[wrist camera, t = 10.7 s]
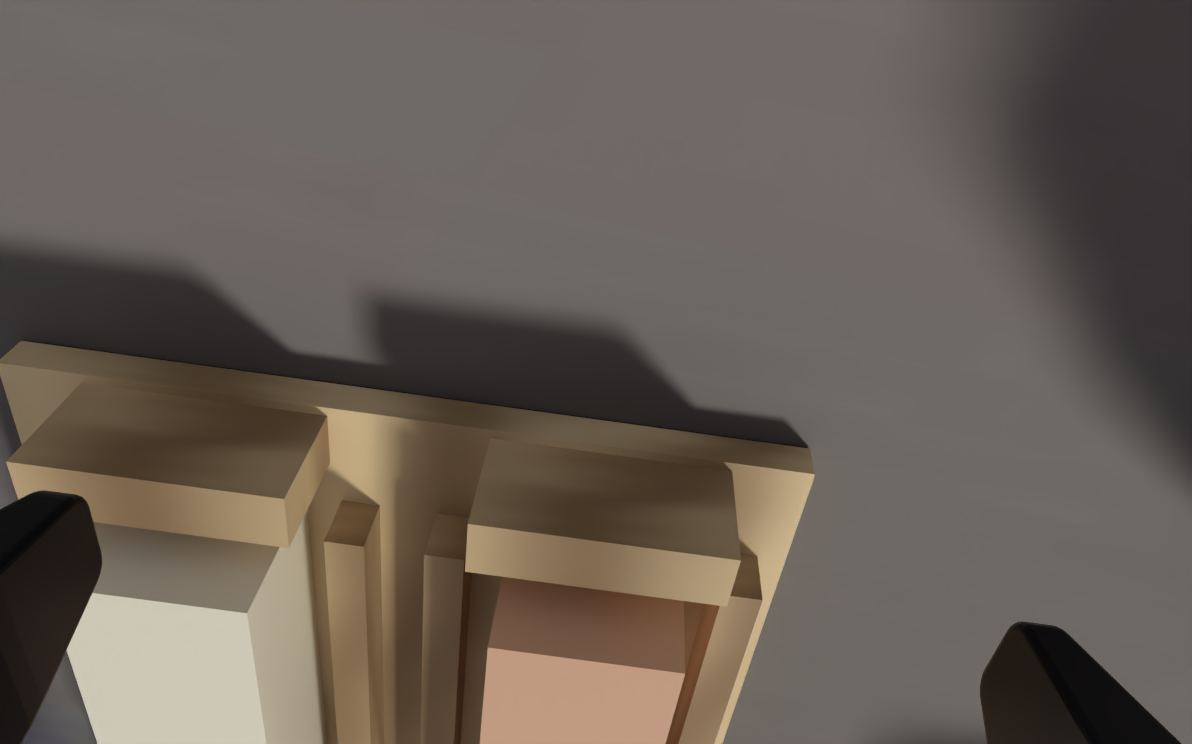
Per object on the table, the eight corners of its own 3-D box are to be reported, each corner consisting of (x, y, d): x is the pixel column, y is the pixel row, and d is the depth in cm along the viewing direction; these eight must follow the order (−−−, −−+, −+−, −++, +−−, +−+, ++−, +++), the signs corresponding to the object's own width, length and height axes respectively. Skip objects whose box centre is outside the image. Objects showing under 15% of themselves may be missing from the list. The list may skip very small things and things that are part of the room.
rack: (809, 448, 23) (834, 564, 19) (665, 879, 35) (665, 995, 32) (21, 340, 22) (-91, 440, 19) (156, 814, 35) (103, 925, 31)
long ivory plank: (306, 493, 23) (247, 613, 20) (333, 821, 32) (296, 941, 29) (134, 470, 23) (45, 586, 20) (209, 805, 32) (157, 924, 29)
